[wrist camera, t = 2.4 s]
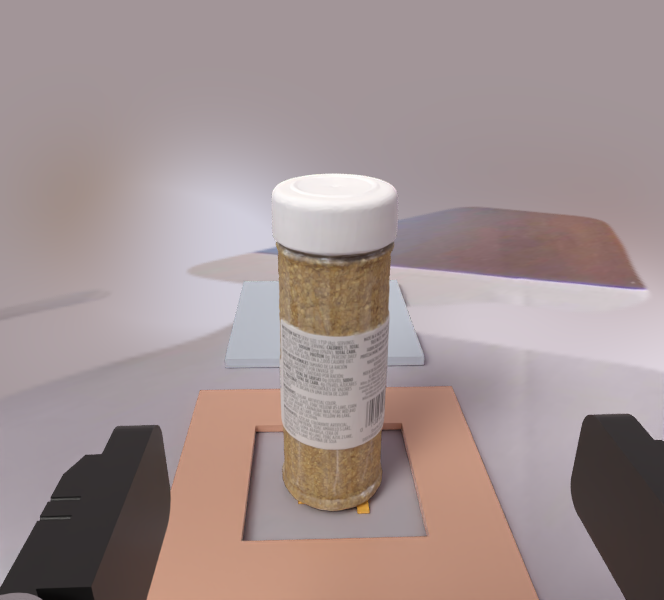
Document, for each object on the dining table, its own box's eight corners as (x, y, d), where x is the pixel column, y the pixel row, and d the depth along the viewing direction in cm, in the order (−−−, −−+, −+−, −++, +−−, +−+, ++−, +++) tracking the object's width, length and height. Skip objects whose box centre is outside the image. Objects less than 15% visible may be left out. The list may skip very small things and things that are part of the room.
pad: (225, 367, 36) (224, 359, 35) (244, 288, 46) (243, 281, 46) (423, 365, 36) (424, 356, 36) (396, 287, 47) (396, 279, 47)
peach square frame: (134, 628, 20) (132, 620, 20) (200, 396, 33) (199, 390, 33) (540, 615, 21) (542, 608, 20) (450, 392, 33) (451, 386, 33)
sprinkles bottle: (323, 435, 30) (325, 165, 24) (402, 473, 27) (423, 181, 21) (259, 485, 26) (243, 185, 21) (341, 534, 24) (348, 208, 18)
